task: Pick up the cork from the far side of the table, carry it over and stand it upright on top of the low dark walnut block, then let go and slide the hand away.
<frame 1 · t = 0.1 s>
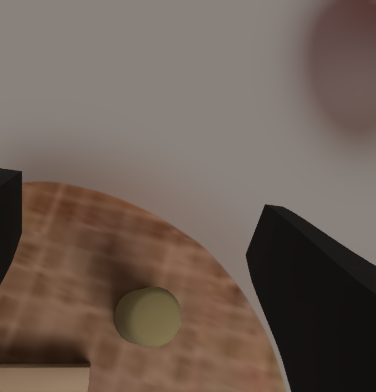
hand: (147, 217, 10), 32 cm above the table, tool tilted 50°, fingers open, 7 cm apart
cork: (140, 315, 40), on the table
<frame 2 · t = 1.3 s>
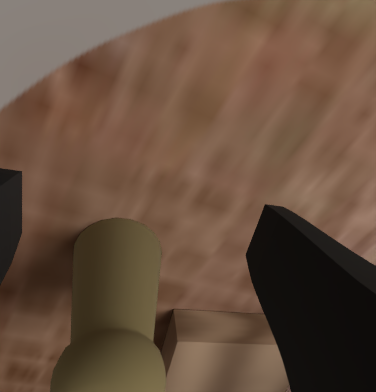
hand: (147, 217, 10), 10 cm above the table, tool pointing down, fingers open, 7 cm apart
walnut block: (220, 355, 31), on the table
cork: (118, 252, 24), on the table
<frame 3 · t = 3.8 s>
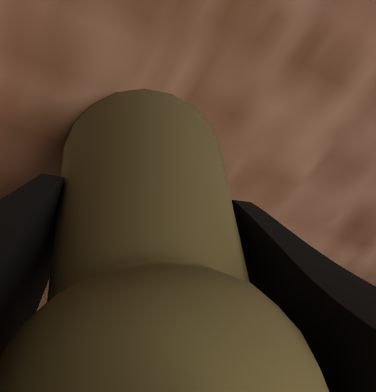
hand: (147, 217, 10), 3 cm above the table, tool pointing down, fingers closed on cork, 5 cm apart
cork: (144, 166, 13), on the table, touching gripper
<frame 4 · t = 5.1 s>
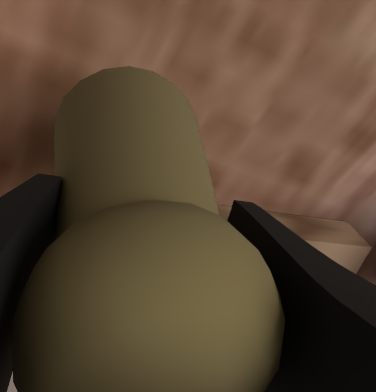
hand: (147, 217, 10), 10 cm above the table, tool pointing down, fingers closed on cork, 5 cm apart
walnut block: (254, 272, 26), on the table
cork: (128, 138, 15), point 5 cm above the table, touching gripper
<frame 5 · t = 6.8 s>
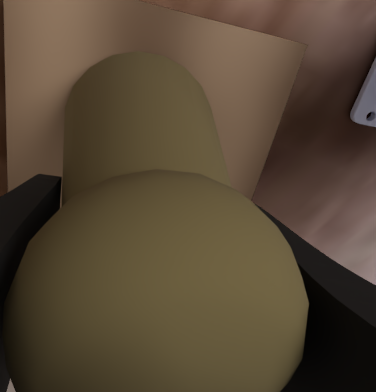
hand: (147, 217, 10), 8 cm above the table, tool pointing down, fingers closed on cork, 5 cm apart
walnut block: (143, 128, 17), on the table
cork: (140, 128, 14), point 3 cm above the table, touching gripper, walnut block
when the fingers open (8 cm above the table, at t = 7.3 s): cork stays where it is, resting on walnut block.
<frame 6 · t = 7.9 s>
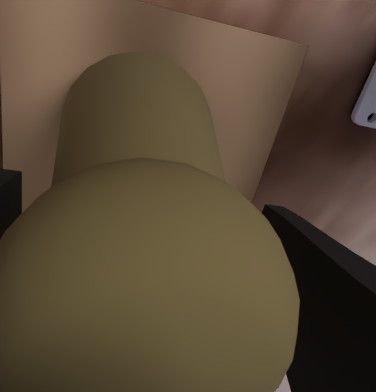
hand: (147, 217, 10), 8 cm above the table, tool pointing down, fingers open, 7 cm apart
walnut block: (142, 130, 17), on the table
cork: (139, 129, 14), point 3 cm above the table, touching walnut block
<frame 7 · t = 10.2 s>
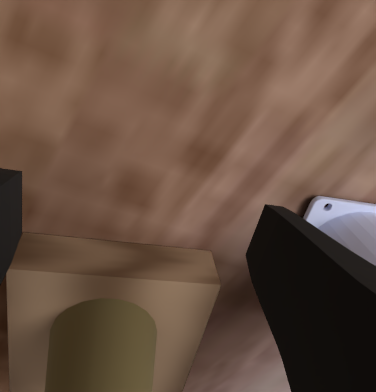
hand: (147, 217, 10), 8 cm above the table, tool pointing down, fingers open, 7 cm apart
walnut block: (111, 307, 23), on the table
cork: (105, 333, 20), point 3 cm above the table, touching walnut block
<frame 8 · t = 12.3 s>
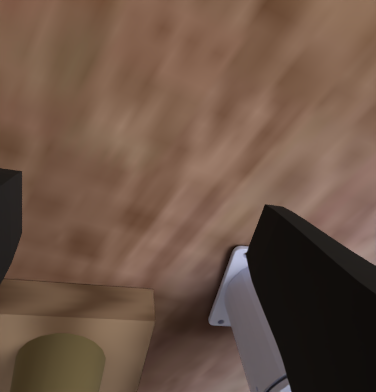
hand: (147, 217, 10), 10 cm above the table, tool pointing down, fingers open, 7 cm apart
walnut block: (72, 335, 27), on the table
cork: (62, 359, 24), point 3 cm above the table, touching walnut block
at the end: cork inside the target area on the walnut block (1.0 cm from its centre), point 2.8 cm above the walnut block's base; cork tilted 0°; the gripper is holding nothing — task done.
